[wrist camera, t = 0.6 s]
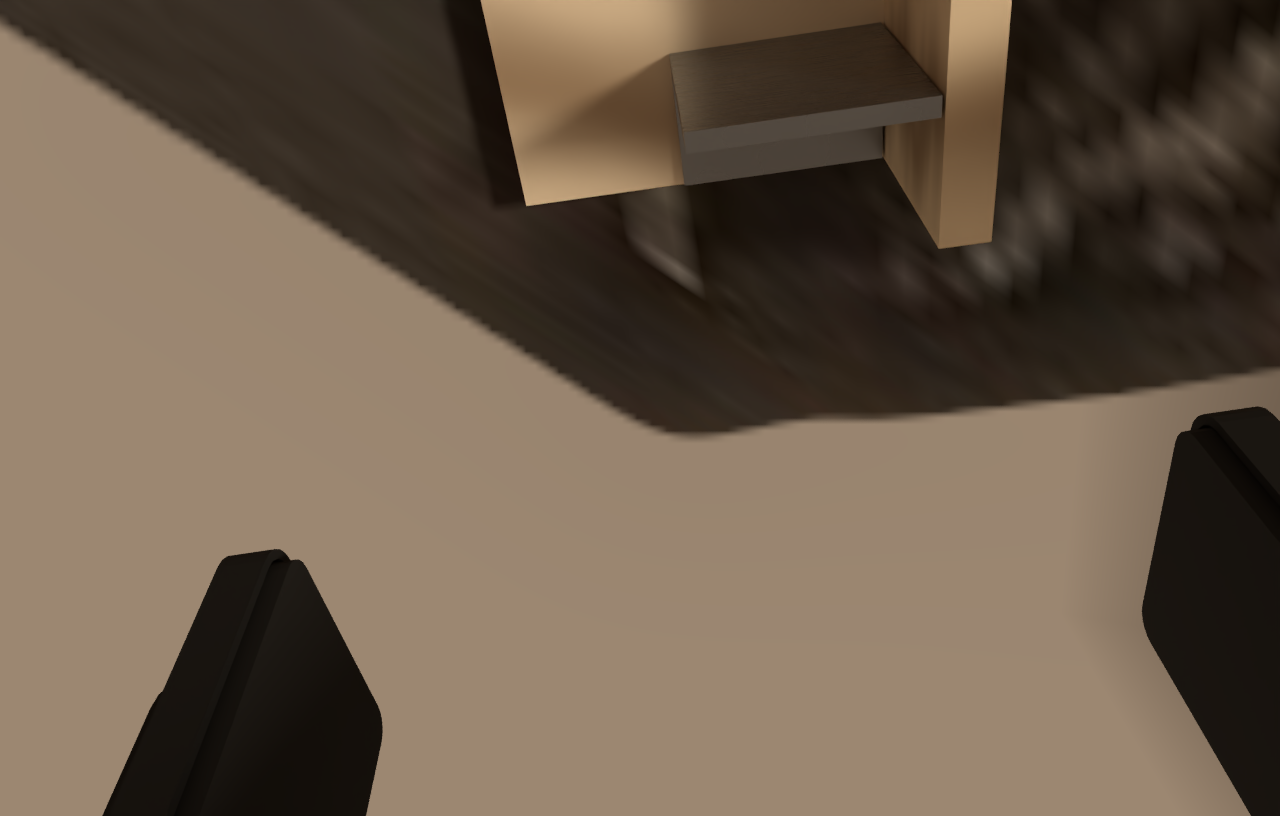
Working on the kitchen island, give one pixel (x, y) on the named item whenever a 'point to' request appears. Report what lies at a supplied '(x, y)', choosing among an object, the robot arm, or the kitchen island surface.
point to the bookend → (794, 102)
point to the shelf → (723, 15)
